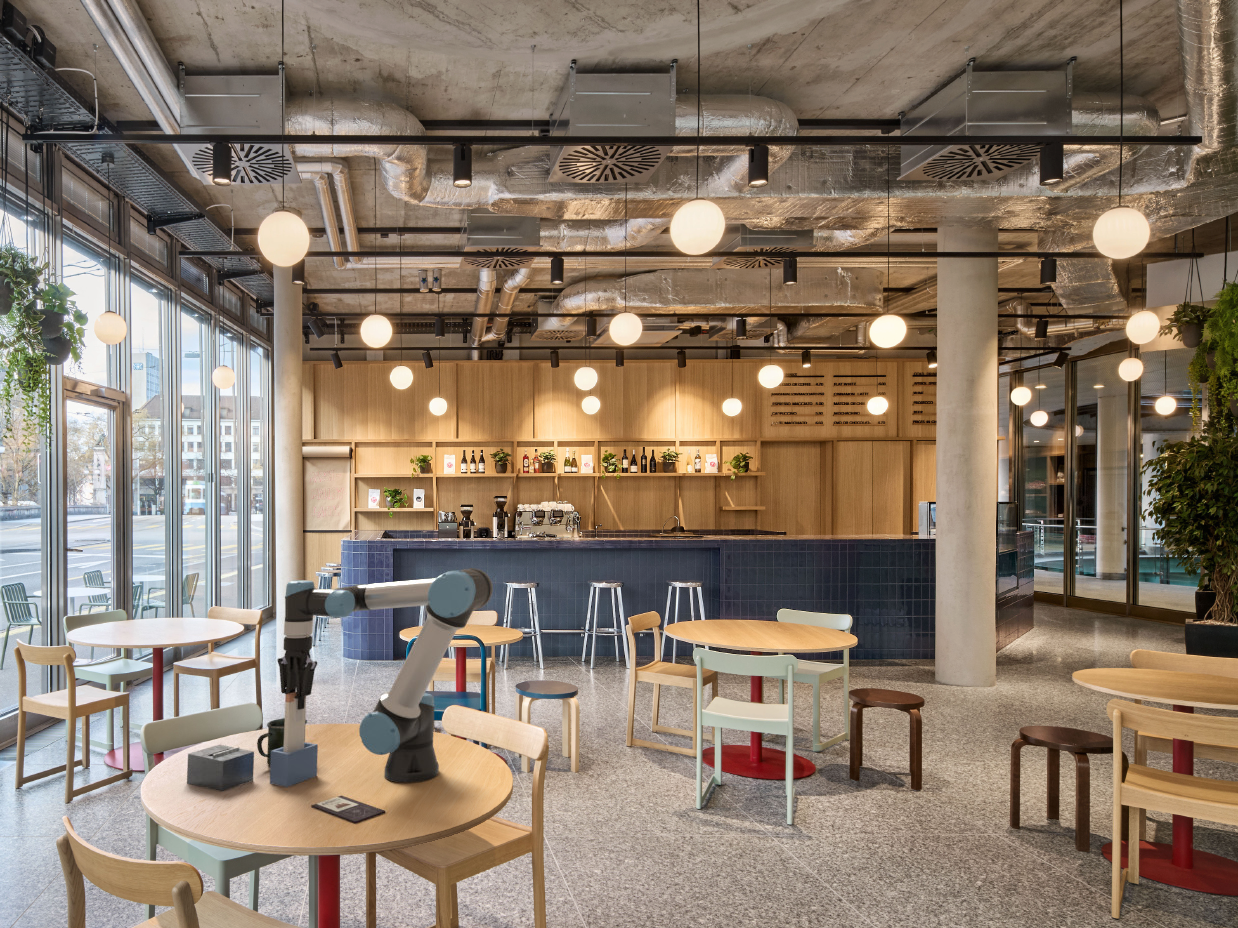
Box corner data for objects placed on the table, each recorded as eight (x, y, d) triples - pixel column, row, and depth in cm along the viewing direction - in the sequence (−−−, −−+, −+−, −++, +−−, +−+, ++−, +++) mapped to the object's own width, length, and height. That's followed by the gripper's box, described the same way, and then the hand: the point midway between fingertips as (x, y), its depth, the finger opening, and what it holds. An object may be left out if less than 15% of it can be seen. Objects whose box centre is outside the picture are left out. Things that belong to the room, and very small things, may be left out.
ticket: (304, 747, 234) (306, 690, 235) (287, 753, 229) (289, 694, 230) (300, 747, 235) (302, 690, 236) (283, 752, 229) (285, 694, 230)
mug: (313, 761, 247) (314, 721, 248) (267, 774, 236) (268, 731, 236) (292, 754, 254) (294, 715, 254) (247, 766, 242) (248, 724, 243)
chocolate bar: (355, 821, 200) (311, 804, 211) (355, 825, 200) (311, 808, 211) (385, 810, 208) (341, 795, 218) (385, 814, 207) (341, 798, 218)
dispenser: (253, 780, 230) (254, 748, 230) (221, 791, 221) (223, 758, 221) (218, 772, 236) (219, 741, 236) (186, 783, 227) (188, 750, 228)
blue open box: (316, 775, 235) (317, 744, 235) (286, 786, 225) (288, 754, 226) (299, 772, 238) (300, 741, 238) (269, 783, 228) (270, 750, 228)
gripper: (327, 636, 234) (324, 720, 232) (290, 631, 240) (286, 713, 239) (306, 639, 227) (303, 726, 226) (268, 635, 233) (265, 719, 232)
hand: (295, 719), depth 232 cm, fingers closed on ticket, 1 cm apart
